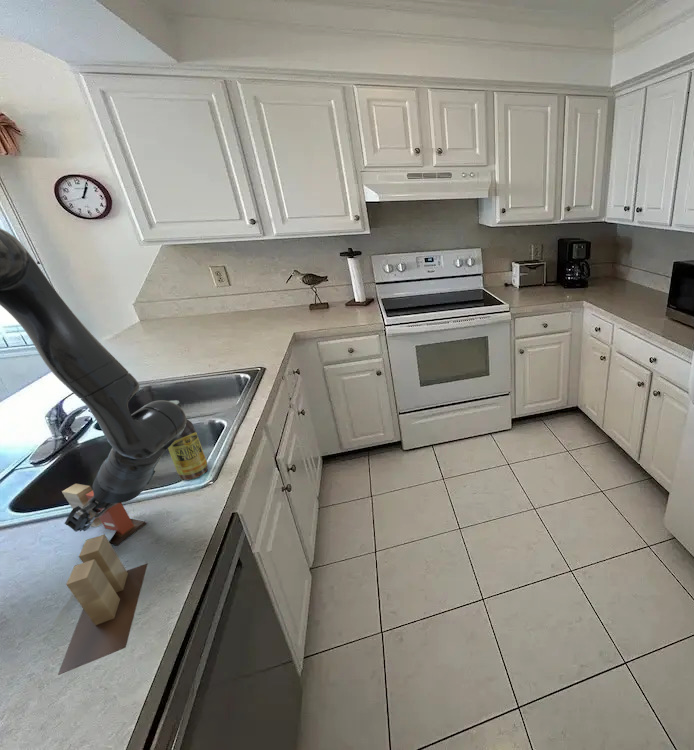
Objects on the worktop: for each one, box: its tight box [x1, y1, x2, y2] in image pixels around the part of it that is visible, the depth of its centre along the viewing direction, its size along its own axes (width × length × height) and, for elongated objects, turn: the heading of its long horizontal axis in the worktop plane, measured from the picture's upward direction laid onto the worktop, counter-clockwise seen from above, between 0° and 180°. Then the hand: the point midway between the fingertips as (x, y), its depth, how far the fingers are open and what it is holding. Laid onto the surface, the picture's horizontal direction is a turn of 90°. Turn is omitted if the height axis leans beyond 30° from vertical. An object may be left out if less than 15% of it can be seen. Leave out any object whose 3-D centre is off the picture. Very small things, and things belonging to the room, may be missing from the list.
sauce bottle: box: [167, 399, 209, 481], centre depth 99 cm, size 6×6×20 cm
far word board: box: [61, 483, 147, 547], centre depth 85 cm, size 6×12×11 cm, turn 77°
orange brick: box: [86, 489, 134, 535], centre depth 84 cm, size 3×4×10 cm, turn 77°
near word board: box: [57, 534, 148, 676], centre depth 67 cm, size 8×18×11 cm, turn 29°
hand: (104, 511), depth 84 cm, fingers open, 8 cm apart
